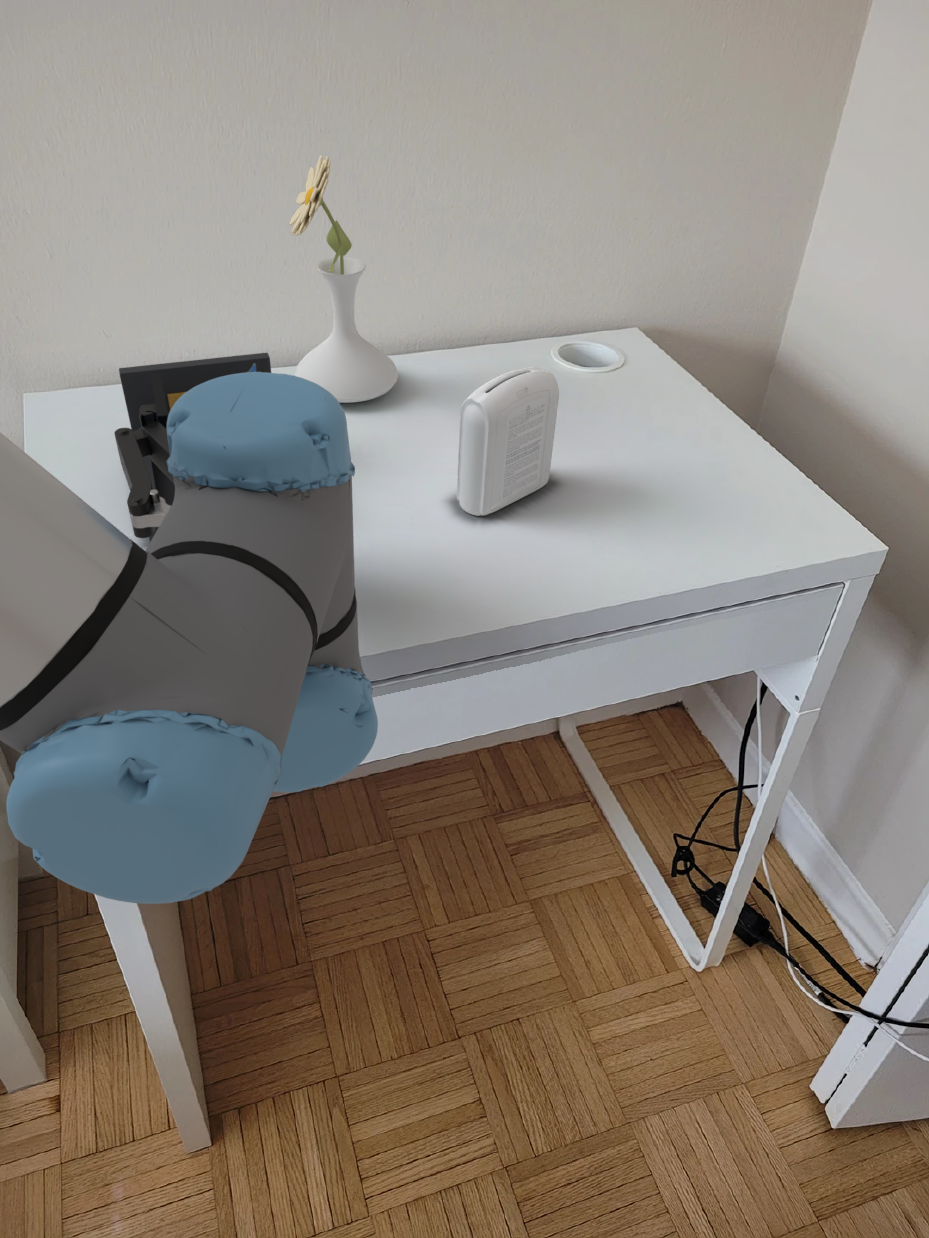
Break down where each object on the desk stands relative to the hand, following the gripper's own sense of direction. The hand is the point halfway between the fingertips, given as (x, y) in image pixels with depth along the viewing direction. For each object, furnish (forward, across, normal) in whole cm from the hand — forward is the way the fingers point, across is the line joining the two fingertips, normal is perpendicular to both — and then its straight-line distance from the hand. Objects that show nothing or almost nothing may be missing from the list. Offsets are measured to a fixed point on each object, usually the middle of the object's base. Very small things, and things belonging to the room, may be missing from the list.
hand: (209, 385), depth 72 cm
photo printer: (+3, +26, -16) cm, 31 cm away
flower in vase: (+27, +16, -16) cm, 35 cm away
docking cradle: (+10, 0, -16) cm, 19 cm away
